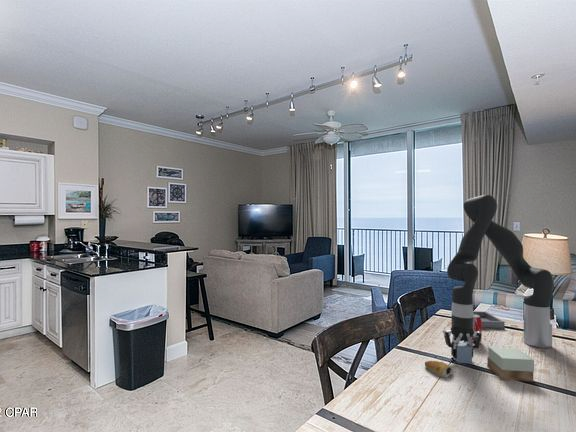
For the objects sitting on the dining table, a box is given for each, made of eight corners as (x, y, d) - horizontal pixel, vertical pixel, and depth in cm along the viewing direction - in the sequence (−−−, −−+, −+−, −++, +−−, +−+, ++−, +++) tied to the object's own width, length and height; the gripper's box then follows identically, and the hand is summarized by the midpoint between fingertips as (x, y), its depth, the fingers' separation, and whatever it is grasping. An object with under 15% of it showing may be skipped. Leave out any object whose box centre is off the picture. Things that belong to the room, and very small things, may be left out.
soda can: (485, 345, 143) (485, 317, 143) (468, 344, 143) (468, 317, 143) (476, 339, 150) (476, 312, 150) (460, 338, 150) (460, 312, 150)
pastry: (420, 368, 121) (420, 358, 121) (431, 364, 125) (431, 354, 125) (444, 379, 113) (444, 368, 113) (455, 374, 117) (455, 363, 117)
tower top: (517, 358, 121) (517, 347, 121) (534, 371, 111) (534, 359, 111) (488, 357, 122) (488, 346, 122) (502, 369, 112) (502, 358, 112)
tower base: (515, 369, 122) (515, 358, 122) (533, 382, 112) (533, 370, 112) (487, 367, 123) (487, 357, 123) (502, 381, 113) (502, 369, 113)
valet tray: (485, 317, 182) (485, 311, 182) (504, 329, 164) (504, 321, 164) (459, 317, 183) (459, 310, 183) (475, 328, 165) (475, 321, 165)
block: (465, 357, 130) (465, 342, 130) (471, 363, 125) (472, 347, 125) (452, 357, 131) (452, 342, 131) (458, 362, 126) (458, 347, 126)
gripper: (476, 312, 131) (476, 354, 131) (439, 311, 132) (439, 353, 132) (486, 317, 124) (486, 363, 124) (447, 316, 125) (446, 361, 125)
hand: (462, 357), depth 128 cm, fingers closed on block, 5 cm apart
